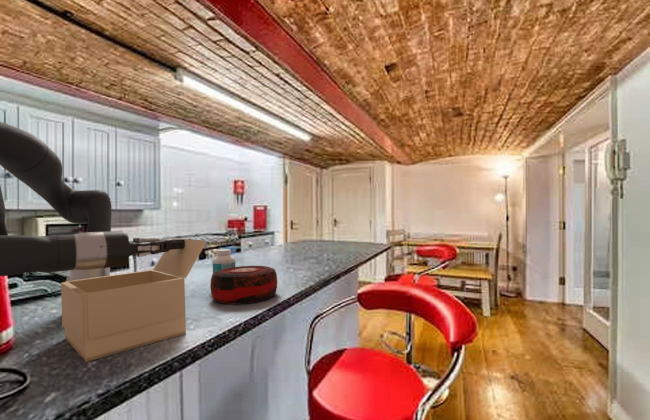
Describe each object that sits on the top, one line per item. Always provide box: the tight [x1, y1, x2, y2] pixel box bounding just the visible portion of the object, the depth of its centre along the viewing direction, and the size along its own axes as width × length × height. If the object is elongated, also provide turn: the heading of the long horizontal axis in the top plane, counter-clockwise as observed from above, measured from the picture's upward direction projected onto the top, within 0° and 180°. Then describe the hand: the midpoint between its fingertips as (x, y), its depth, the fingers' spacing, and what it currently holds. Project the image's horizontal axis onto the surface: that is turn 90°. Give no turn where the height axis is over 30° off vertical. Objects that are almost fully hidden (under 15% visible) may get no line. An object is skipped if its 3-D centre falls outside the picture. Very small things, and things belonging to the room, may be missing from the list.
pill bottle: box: [212, 248, 236, 274], centre depth 116 cm, size 8×7×14 cm
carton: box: [60, 269, 187, 363], centre depth 74 cm, size 18×19×12 cm
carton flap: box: [152, 237, 207, 279], centre depth 82 cm, size 9×17×1 cm
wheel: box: [210, 265, 278, 305], centre depth 106 cm, size 20×8×20 cm
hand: (183, 243), depth 83 cm, fingers closed
